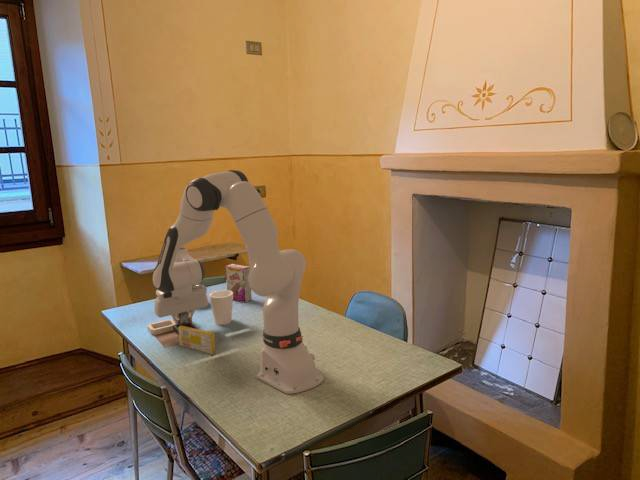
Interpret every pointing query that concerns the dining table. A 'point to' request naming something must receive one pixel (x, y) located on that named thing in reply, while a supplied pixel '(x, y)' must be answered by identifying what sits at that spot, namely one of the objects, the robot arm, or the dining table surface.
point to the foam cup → (222, 306)
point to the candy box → (197, 339)
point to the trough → (161, 326)
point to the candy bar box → (238, 282)
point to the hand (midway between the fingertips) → (183, 322)
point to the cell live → (183, 319)
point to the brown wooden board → (171, 336)
